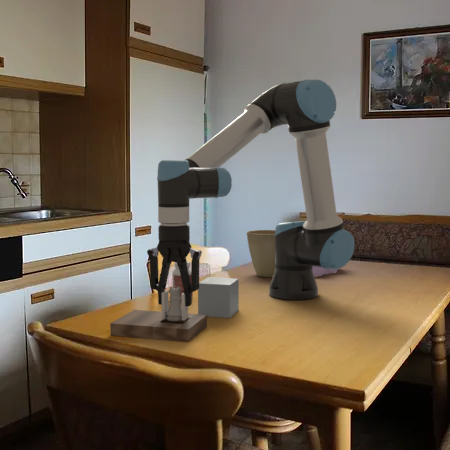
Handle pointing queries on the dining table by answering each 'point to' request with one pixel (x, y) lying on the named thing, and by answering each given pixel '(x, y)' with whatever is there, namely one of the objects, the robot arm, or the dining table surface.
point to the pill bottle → (177, 277)
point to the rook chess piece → (174, 305)
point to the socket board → (158, 326)
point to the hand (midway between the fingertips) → (175, 318)
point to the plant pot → (262, 251)
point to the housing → (218, 297)
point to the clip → (322, 271)
